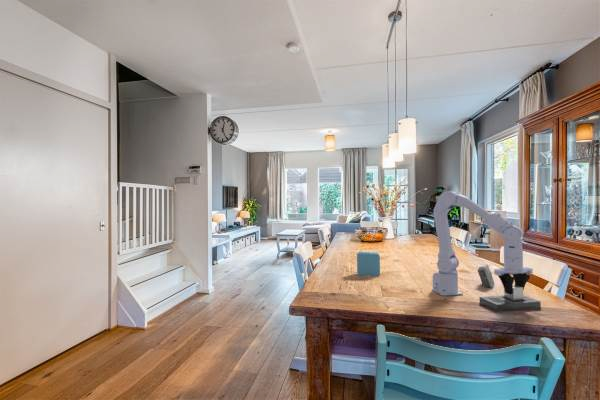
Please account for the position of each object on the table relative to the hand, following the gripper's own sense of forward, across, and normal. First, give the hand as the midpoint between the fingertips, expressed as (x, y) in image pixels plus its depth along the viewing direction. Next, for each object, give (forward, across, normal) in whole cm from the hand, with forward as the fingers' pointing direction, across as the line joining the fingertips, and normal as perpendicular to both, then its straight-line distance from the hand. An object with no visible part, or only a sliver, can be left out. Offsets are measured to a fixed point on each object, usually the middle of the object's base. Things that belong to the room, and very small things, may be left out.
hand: (513, 293), depth 105 cm
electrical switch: (+5, +10, +24) cm, 26 cm away
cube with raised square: (+2, 0, 0) cm, 2 cm away
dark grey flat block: (+5, -2, 0) cm, 5 cm away
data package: (+5, -37, +52) cm, 64 cm away
